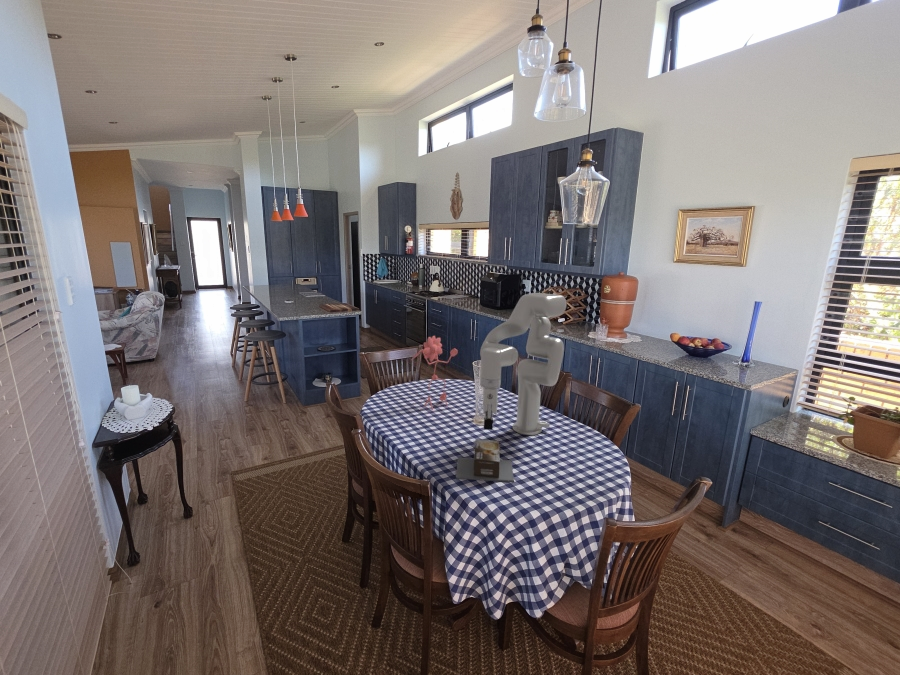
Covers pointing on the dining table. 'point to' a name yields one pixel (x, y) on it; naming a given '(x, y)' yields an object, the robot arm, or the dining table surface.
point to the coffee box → (486, 458)
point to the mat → (467, 472)
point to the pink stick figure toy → (432, 352)
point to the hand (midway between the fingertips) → (488, 428)
